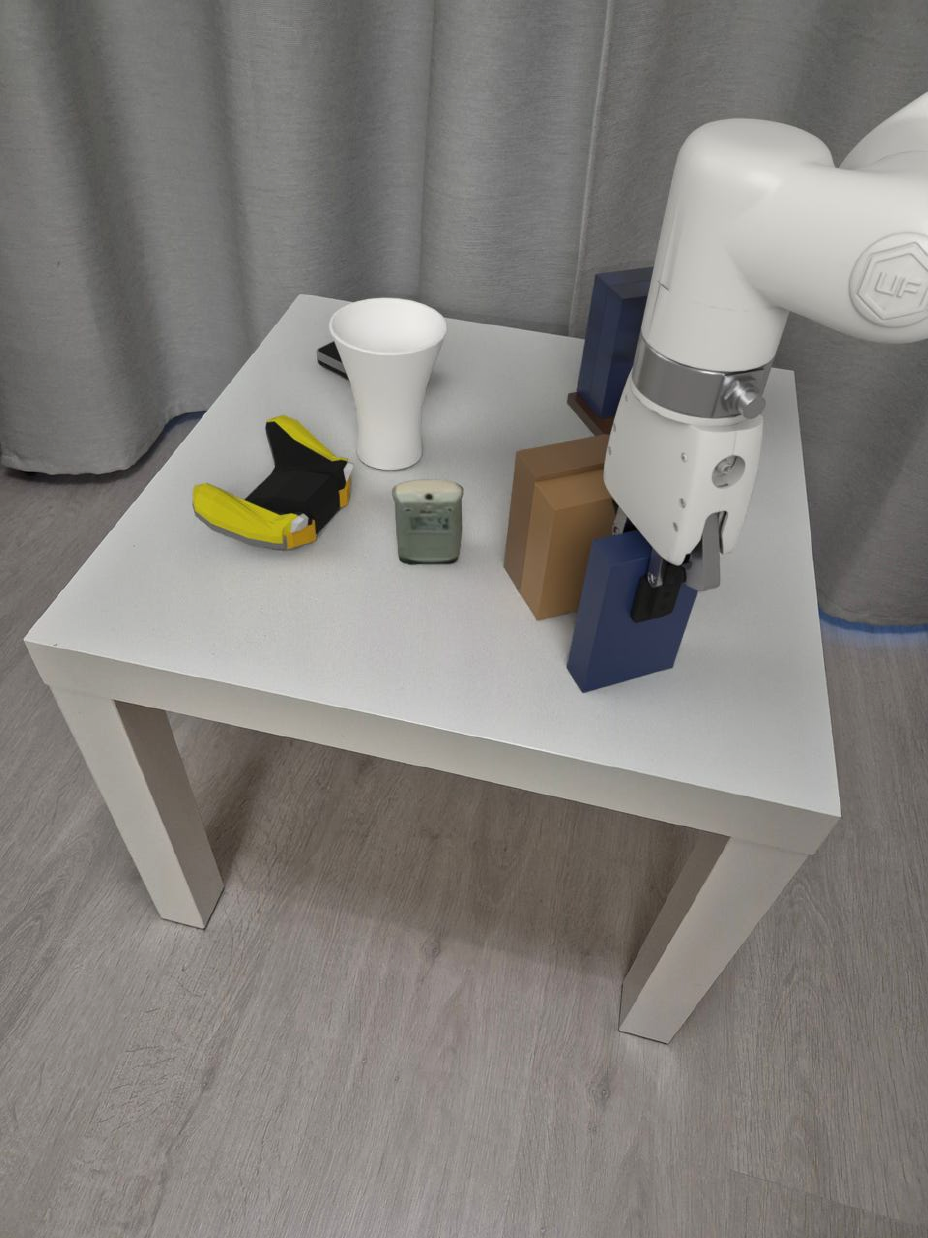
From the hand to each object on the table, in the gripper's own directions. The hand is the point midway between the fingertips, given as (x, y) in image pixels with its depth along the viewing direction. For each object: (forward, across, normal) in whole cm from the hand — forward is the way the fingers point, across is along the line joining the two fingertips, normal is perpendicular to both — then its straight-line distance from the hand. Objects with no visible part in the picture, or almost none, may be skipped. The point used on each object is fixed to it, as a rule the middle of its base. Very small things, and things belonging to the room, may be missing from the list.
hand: (638, 597), depth 63 cm
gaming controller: (+8, +27, +20) cm, 34 cm away
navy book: (+8, 0, 0) cm, 8 cm away
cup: (+8, +33, +8) cm, 35 cm away
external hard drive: (+8, +48, +5) cm, 49 cm away
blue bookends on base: (+8, +27, -18) cm, 34 cm away
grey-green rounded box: (+8, +17, +10) cm, 21 cm away
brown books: (+8, +10, 0) cm, 13 cm away
